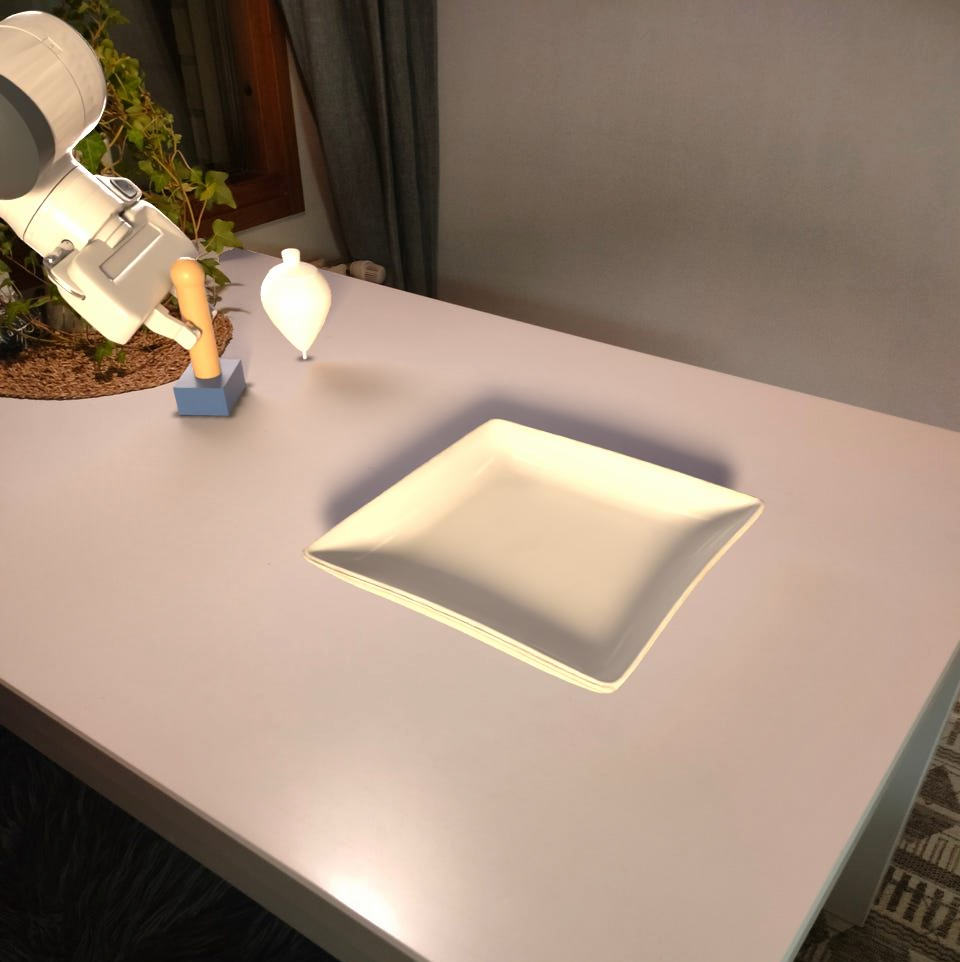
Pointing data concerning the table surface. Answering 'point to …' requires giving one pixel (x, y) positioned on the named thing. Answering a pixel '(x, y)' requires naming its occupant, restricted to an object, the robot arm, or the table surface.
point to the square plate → (541, 547)
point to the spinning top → (296, 299)
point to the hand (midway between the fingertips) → (204, 330)
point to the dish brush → (203, 351)
